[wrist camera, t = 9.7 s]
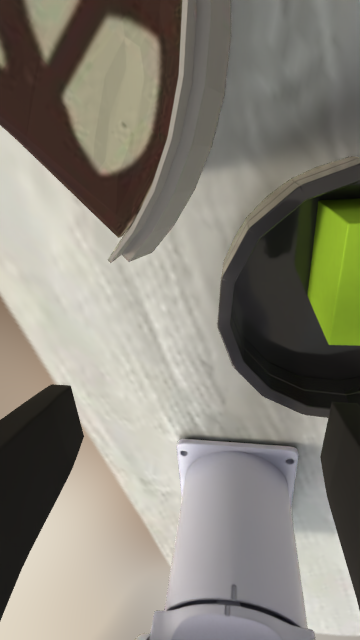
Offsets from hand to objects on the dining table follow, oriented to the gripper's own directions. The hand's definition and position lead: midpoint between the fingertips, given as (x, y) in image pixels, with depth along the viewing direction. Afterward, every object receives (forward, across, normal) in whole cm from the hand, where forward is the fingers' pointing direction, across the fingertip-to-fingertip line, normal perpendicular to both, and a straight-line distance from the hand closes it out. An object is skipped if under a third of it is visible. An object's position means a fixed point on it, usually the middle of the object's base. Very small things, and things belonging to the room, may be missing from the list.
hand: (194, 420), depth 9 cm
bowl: (+9, -6, 0) cm, 11 cm away
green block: (+9, -6, -2) cm, 11 cm away
